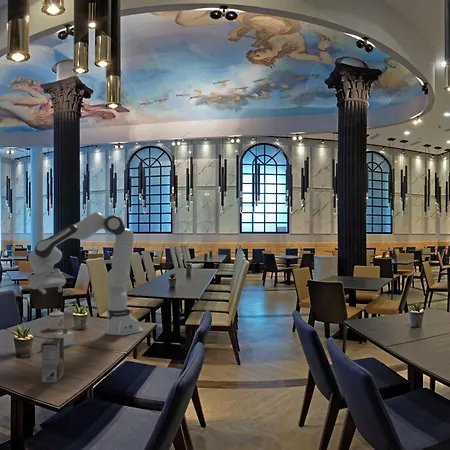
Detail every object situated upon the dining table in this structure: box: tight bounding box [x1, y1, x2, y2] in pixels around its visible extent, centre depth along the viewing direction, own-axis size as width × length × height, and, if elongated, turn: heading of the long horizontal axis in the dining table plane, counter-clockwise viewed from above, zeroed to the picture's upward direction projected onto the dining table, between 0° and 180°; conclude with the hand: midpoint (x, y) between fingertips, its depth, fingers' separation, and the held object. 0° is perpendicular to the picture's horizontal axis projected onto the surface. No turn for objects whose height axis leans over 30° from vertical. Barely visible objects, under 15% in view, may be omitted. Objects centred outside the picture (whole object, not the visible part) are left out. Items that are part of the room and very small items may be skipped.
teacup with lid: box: [48, 309, 65, 331], centre depth 261 cm, size 12×9×12 cm
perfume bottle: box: [56, 327, 75, 346], centre depth 223 cm, size 6×6×8 cm
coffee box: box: [41, 337, 65, 383], centre depth 173 cm, size 9×6×16 cm
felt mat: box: [64, 342, 78, 349], centre depth 223 cm, size 9×9×1 cm
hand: (52, 292), depth 230 cm, fingers open, 8 cm apart
